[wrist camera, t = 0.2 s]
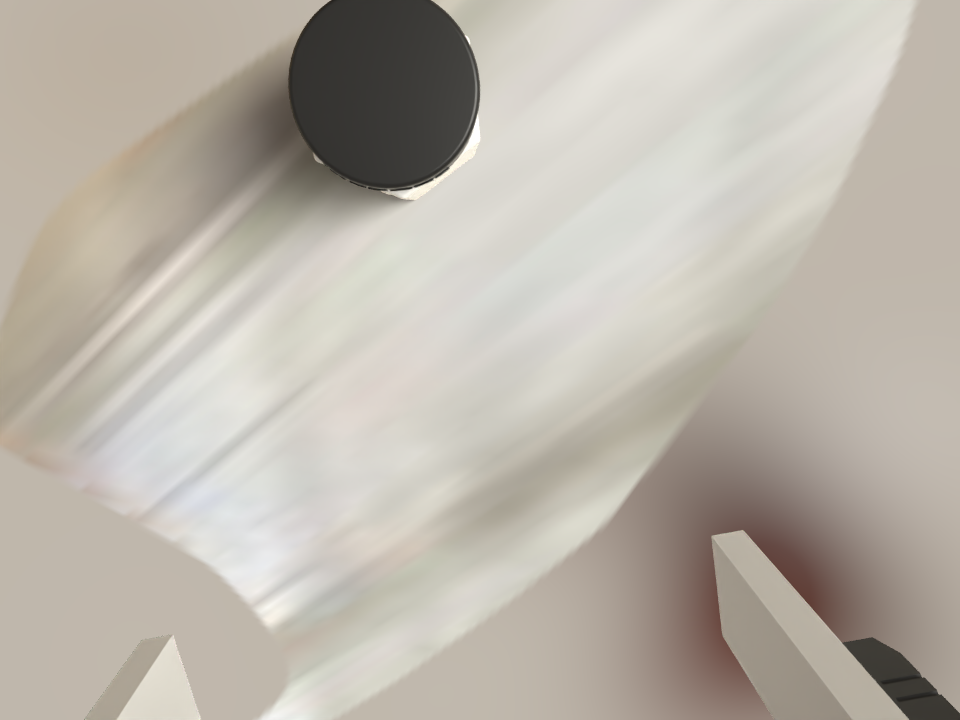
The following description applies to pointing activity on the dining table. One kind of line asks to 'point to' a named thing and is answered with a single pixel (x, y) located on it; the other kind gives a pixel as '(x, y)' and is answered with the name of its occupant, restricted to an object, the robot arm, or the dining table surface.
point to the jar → (386, 93)
